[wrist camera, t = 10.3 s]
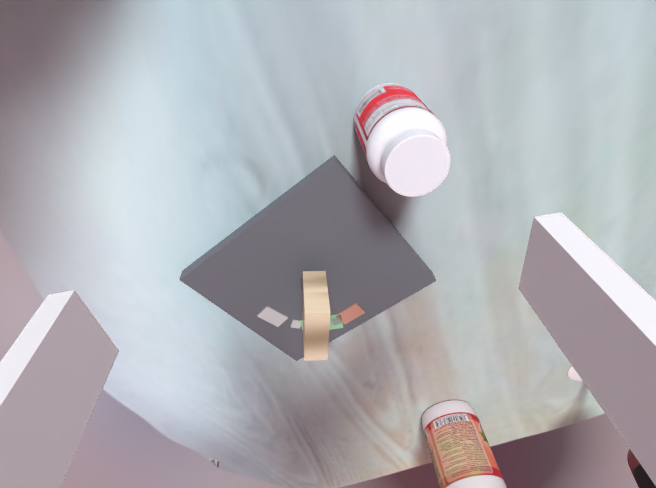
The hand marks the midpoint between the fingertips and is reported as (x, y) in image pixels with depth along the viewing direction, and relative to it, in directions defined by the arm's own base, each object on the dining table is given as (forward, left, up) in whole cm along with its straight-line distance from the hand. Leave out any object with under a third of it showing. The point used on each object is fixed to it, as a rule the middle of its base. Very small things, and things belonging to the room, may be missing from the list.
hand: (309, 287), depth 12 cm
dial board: (+18, -13, -27) cm, 35 cm away
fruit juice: (+59, -16, -27) cm, 67 cm away
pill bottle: (+8, +4, -27) cm, 28 cm away
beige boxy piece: (+20, -15, -25) cm, 35 cm away
